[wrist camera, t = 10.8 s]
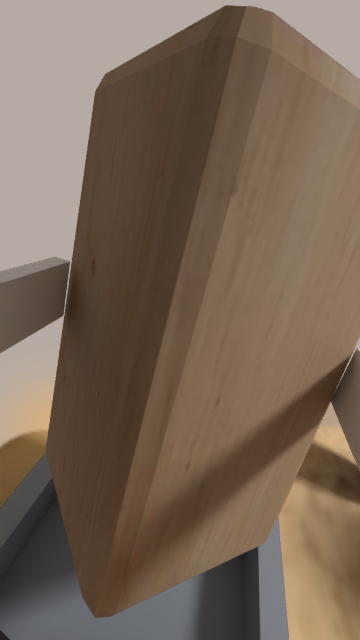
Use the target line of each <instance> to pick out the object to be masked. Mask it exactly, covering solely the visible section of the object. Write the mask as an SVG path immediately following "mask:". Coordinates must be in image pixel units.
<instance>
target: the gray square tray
mask: <svg viewBox="0 0 360 640" xmlns="http://www.w3.org/2000/svg"><path fill="white" fill-rule="evenodd" d="M0 630H1V631H2V632H3V633H4V634H5V635H6V636H7V637H8V638H9V639H10V640H289V632H288V621H287V610H286V598H285V587H284V576H283V565H282V553H281V542H280V531H279V520H278V518H277V520H276V522H275V524H274V527H273V529H272V531H271V533H270V535H269V537H268V538H267V540H266V542H265V543H263V544H261V545H260V546H258V547H256V548H254V549H252V550H249V551H247V552H245V553H243V554H241V555H239V556H237V557H235V558H233V559H231V560H228V561H226V562H224V563H222V564H220V565H218V566H216V567H214V568H212V569H210V570H207V571H205V572H203V573H201V574H199V575H197V576H195V577H193V578H191V579H189V580H187V581H184V582H182V583H180V584H178V585H176V586H174V587H172V588H170V589H168V590H166V591H163V592H161V593H159V594H157V595H155V596H153V597H151V598H149V599H147V600H145V601H143V602H140V603H138V604H136V605H134V606H132V607H130V608H128V609H126V610H124V611H122V612H119V613H117V614H115V615H113V616H111V617H103V618H95V617H94V616H93V614H92V612H91V611H90V609H89V608H88V606H87V605H86V603H85V601H84V599H83V597H82V594H81V590H80V586H79V582H78V578H77V574H76V570H75V566H74V562H73V558H72V554H71V550H70V546H69V542H68V538H67V534H66V530H65V526H64V522H63V518H62V514H61V510H60V505H59V501H58V497H57V493H56V489H55V485H54V481H53V477H52V473H51V469H50V465H49V461H48V457H47V453H45V454H44V455H43V457H42V458H41V459H40V460H39V462H38V463H37V464H36V465H35V466H34V468H33V469H32V470H31V471H30V473H29V474H28V475H27V476H26V477H25V479H24V480H23V481H22V482H21V483H20V485H19V486H18V487H17V488H16V490H15V491H14V492H13V493H12V494H11V496H10V497H9V498H8V499H7V501H6V502H5V503H4V504H3V505H2V507H1V508H0Z"/></svg>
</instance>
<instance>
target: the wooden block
mask: <svg viewBox="0 0 360 640" xmlns="http://www.w3.org/2000/svg"><path fill="white" fill-rule="evenodd" d="M359 337H360V79H359V78H357V77H356V76H355V75H353V74H352V73H351V72H349V71H348V70H347V69H346V68H344V67H343V66H342V65H340V64H339V63H338V62H337V61H335V60H334V59H333V58H331V57H330V56H329V55H328V54H326V53H325V52H324V51H322V50H321V49H320V48H318V47H317V46H316V45H314V44H313V43H312V42H310V41H309V40H308V39H307V38H306V37H304V36H303V35H301V34H300V33H299V32H298V31H296V30H295V29H294V28H293V27H291V26H290V25H289V24H287V23H286V22H285V21H283V20H282V19H281V18H280V17H278V16H277V15H276V14H274V13H273V12H270V11H267V10H263V9H260V8H257V7H250V6H224V7H222V8H221V9H219V10H217V11H215V12H214V13H212V14H210V15H208V16H206V17H205V18H203V19H201V20H200V21H198V22H196V23H194V24H192V25H191V26H189V27H187V28H185V29H184V30H182V31H180V32H178V33H177V34H175V35H173V36H172V37H170V38H168V39H166V40H164V41H163V42H161V43H159V44H157V45H155V46H154V47H152V48H150V49H148V50H147V51H145V52H143V53H141V54H140V55H138V56H136V57H134V58H133V59H131V60H129V61H127V62H126V63H124V64H122V65H120V66H119V67H117V68H115V69H113V70H112V71H110V72H108V73H106V74H105V76H104V77H103V79H102V81H101V83H100V84H99V86H98V88H97V89H96V91H95V97H94V105H93V112H92V119H91V126H90V134H89V141H88V149H87V155H86V163H85V170H84V178H83V185H82V192H81V199H80V206H79V213H78V221H77V228H76V235H75V242H74V250H73V257H72V264H71V271H70V279H69V286H68V293H67V300H66V308H65V316H64V323H63V330H62V337H61V344H60V351H59V358H58V366H57V373H56V380H55V387H54V395H53V402H52V409H51V417H50V424H49V431H48V438H47V445H46V453H47V457H48V461H49V465H50V469H51V473H52V477H53V481H54V485H55V489H56V493H57V497H58V501H59V505H60V510H61V514H62V518H63V522H64V526H65V530H66V534H67V538H68V542H69V546H70V550H71V554H72V558H73V562H74V566H75V570H76V574H77V578H78V582H79V586H80V590H81V594H82V597H83V599H84V601H85V603H86V605H87V606H88V608H89V609H90V611H91V612H92V614H93V616H94V617H95V618H103V617H111V616H113V615H115V614H117V613H119V612H122V611H124V610H126V609H128V608H130V607H132V606H134V605H136V604H138V603H140V602H143V601H145V600H147V599H149V598H151V597H153V596H155V595H157V594H159V593H161V592H163V591H166V590H168V589H170V588H172V587H174V586H176V585H178V584H180V583H182V582H184V581H187V580H189V579H191V578H193V577H195V576H197V575H199V574H201V573H203V572H205V571H207V570H210V569H212V568H214V567H216V566H218V565H220V564H222V563H224V562H226V561H228V560H231V559H233V558H235V557H237V556H239V555H241V554H243V553H245V552H247V551H249V550H252V549H254V548H256V547H258V546H260V545H261V544H263V543H265V542H266V540H267V538H268V537H269V535H270V533H271V531H272V529H273V527H274V524H275V522H276V520H277V518H278V516H279V513H280V511H281V509H282V507H283V505H284V502H285V500H286V498H287V496H288V494H289V491H290V489H291V487H292V485H293V483H294V480H295V478H296V476H297V474H298V472H299V470H300V467H301V465H302V463H303V461H304V459H305V456H306V454H307V452H308V450H309V448H310V445H311V443H312V441H313V439H314V437H315V434H316V432H317V430H318V428H319V426H320V423H321V421H322V419H323V417H324V415H325V412H326V410H327V408H328V406H329V403H330V401H331V399H332V397H333V395H334V393H335V390H336V388H337V386H338V384H339V382H340V379H341V377H342V375H343V373H344V371H345V368H346V366H347V363H348V362H349V360H350V357H351V355H352V353H353V351H354V349H355V346H356V344H357V342H358V340H359Z"/></svg>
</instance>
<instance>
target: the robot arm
mask: <svg viewBox="0 0 360 640" xmlns="http://www.w3.org/2000/svg"><path fill="white" fill-rule="evenodd" d="M69 265H70V261H66V260H63V259H60V258H57V257H53V258H49V259H45V260H41V261H38V262H34V263H30V264H27V265H23V266H19V267H16V268H12V269H8V270H4V271H1V272H0V353H1V352H3V351H5V350H6V349H8V348H10V347H11V346H13V345H15V344H16V343H18V342H20V341H22V340H23V339H25V338H27V337H28V336H30V335H32V334H33V333H35V332H37V331H38V330H40V329H42V328H43V327H45V326H47V325H48V324H50V323H52V322H53V321H55V320H57V319H59V318H60V317H62V316H63V314H64V306H65V297H66V290H67V282H68V273H69ZM331 403H332V405H333V407H334V410H335V412H336V415H337V417H338V420H339V422H340V425H341V427H342V429H343V432H344V434H345V437H346V439H347V442H348V444H349V447H350V449H351V451H352V454H353V456H354V459H355V461H356V464H357V466H358V468H359V471H360V348H357V349H356V351H355V353H354V355H353V357H352V359H351V361H350V363H349V365H348V367H347V369H346V371H345V373H344V375H343V377H342V379H341V381H340V383H339V385H338V387H337V389H336V391H335V393H334V395H333V397H332V399H331ZM0 640H10V639H9V638H8V637H7V636H6V635H5V634H4V633H3V632H2V631H1V630H0Z"/></svg>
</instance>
